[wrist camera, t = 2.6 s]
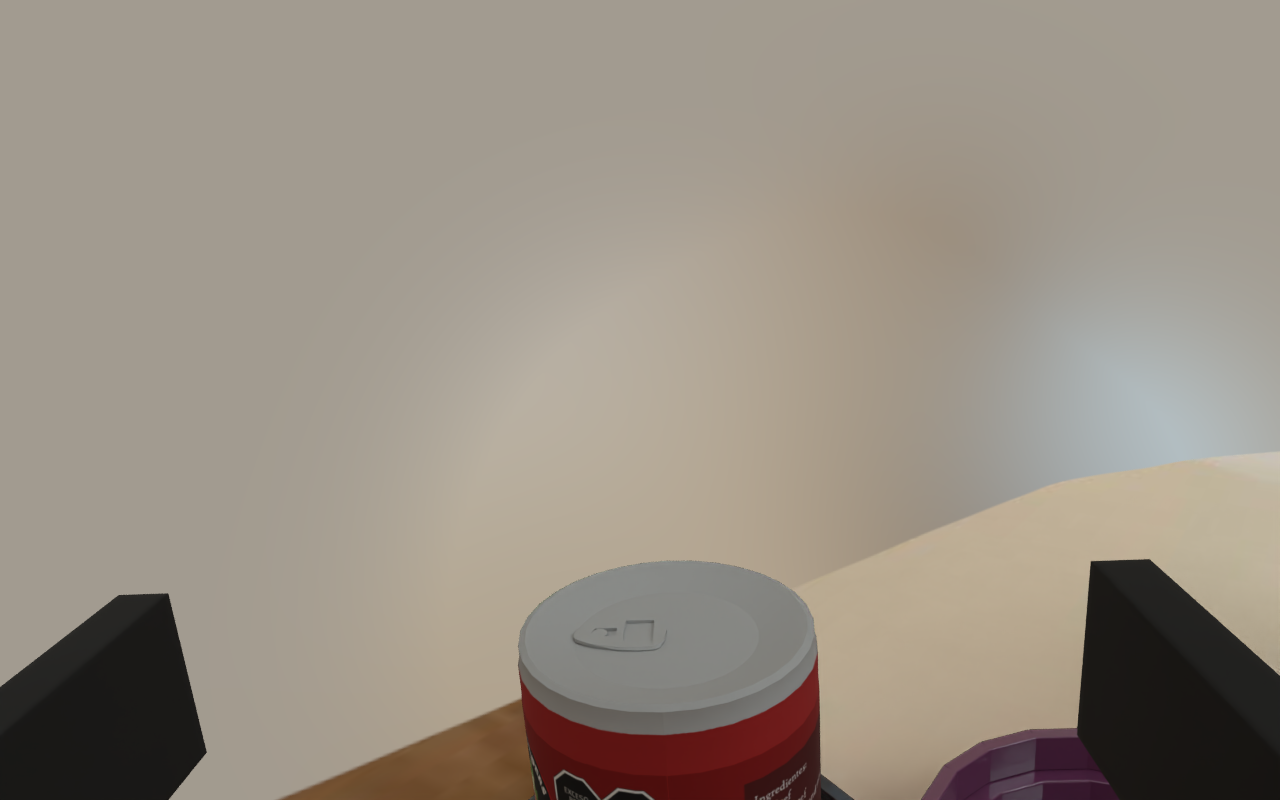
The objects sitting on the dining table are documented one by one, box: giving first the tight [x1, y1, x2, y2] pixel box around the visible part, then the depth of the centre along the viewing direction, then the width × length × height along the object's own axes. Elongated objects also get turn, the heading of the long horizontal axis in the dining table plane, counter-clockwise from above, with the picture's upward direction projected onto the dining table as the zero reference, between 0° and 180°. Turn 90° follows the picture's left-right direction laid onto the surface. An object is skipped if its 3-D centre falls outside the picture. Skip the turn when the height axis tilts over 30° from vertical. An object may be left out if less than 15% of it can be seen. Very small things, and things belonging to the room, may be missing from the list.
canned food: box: [518, 561, 821, 800], centre depth 25 cm, size 8×8×11 cm
